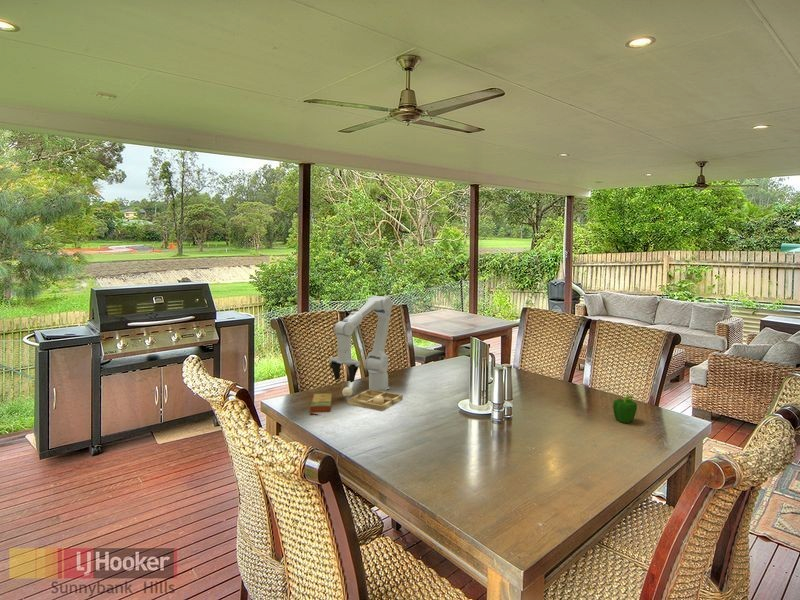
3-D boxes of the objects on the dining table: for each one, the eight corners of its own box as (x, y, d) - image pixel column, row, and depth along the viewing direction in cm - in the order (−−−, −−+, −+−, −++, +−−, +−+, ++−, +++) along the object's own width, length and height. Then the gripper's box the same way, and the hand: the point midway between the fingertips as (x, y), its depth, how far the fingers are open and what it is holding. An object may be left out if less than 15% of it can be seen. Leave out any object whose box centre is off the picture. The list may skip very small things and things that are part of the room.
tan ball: (376, 403, 204) (376, 392, 204) (386, 405, 202) (386, 394, 202) (370, 406, 201) (370, 395, 200) (380, 408, 198) (380, 397, 198)
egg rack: (369, 395, 218) (369, 388, 218) (402, 401, 210) (402, 394, 210) (347, 407, 204) (347, 399, 203) (382, 413, 195) (382, 406, 195)
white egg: (346, 395, 220) (346, 385, 219) (354, 396, 217) (354, 386, 217) (340, 397, 216) (340, 387, 215) (348, 399, 213) (348, 389, 213)
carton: (332, 402, 211) (332, 392, 210) (330, 415, 195) (330, 405, 194) (313, 403, 210) (313, 393, 209) (309, 416, 194) (309, 405, 193)
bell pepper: (612, 423, 186) (614, 397, 185) (611, 416, 193) (612, 391, 192) (637, 426, 183) (638, 400, 182) (634, 418, 191) (636, 393, 189)
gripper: (324, 349, 207) (325, 380, 209) (353, 353, 200) (353, 385, 202) (334, 346, 213) (335, 376, 215) (362, 349, 206) (362, 380, 208)
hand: (344, 380), depth 209 cm, fingers open, 7 cm apart
